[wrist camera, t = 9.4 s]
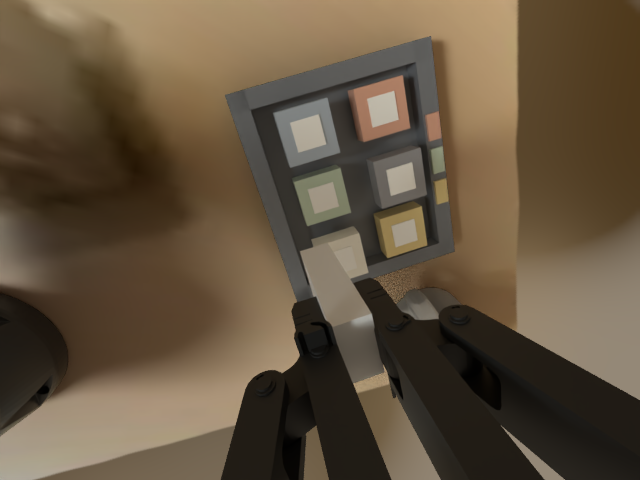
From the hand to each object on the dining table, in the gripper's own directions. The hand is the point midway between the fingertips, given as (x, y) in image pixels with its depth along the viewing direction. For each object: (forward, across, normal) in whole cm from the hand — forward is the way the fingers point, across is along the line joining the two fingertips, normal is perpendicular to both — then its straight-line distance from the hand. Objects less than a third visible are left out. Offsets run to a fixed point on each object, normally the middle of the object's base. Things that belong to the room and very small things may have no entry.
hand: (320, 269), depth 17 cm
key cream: (+14, +3, -7) cm, 16 cm away
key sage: (+16, +3, -1) cm, 16 cm away
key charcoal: (+14, +10, 0) cm, 17 cm away
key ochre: (+16, +10, -6) cm, 20 cm away
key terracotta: (+16, +10, +6) cm, 20 cm away
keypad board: (+17, +7, 0) cm, 19 cm away
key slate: (+14, +3, +5) cm, 16 cm away
